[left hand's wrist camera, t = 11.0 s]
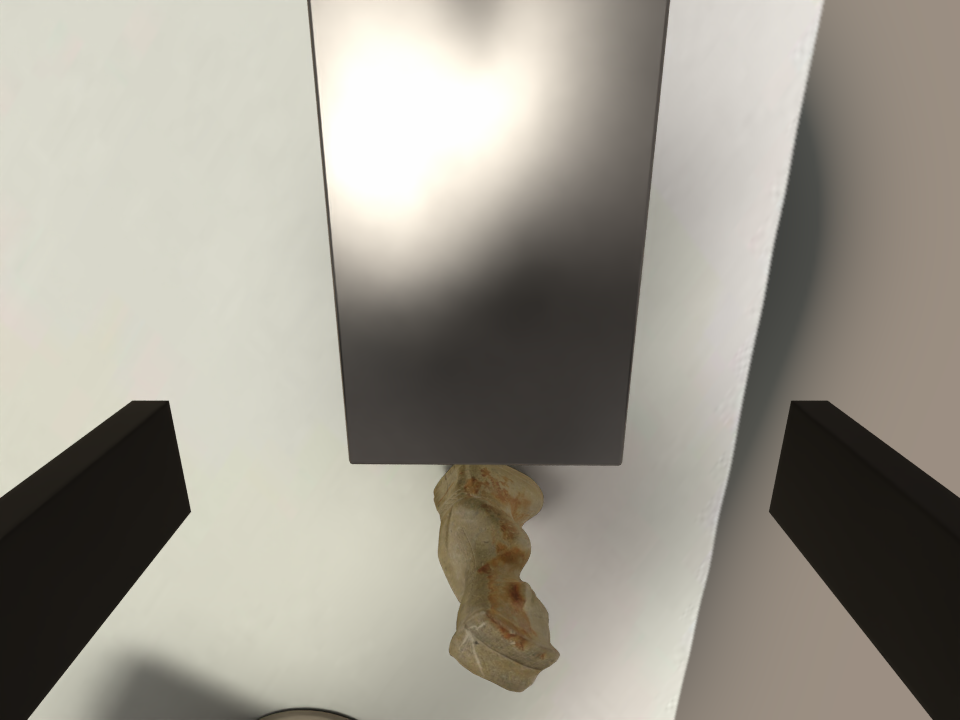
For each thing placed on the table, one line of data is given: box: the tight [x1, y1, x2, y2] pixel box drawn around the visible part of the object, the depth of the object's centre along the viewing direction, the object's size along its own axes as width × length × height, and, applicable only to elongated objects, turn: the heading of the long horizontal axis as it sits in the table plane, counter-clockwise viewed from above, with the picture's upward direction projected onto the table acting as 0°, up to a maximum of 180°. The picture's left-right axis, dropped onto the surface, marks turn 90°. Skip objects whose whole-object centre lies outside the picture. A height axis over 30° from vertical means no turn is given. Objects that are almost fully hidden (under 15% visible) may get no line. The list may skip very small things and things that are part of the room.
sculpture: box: [434, 465, 560, 692], centre depth 35 cm, size 6×7×15 cm
